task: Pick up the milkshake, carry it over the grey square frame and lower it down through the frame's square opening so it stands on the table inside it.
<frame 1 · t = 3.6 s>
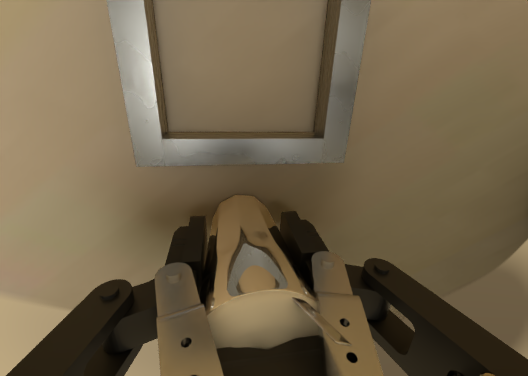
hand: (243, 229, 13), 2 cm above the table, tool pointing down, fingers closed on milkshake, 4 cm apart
milkshake: (243, 211, 15), on the table, touching gripper
grey square frame: (244, 49, 12), on the table
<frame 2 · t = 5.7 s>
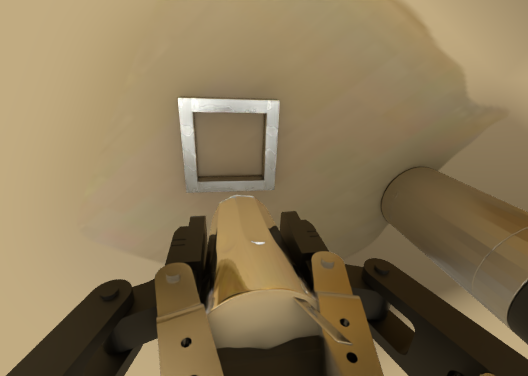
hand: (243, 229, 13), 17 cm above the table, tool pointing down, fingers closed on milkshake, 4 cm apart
milkshake: (243, 210, 15), point 15 cm above the table, touching gripper
grey square frame: (230, 145, 29), on the table
when the fingers open (3 cm above the table, at t = 8.3 s): milkshake stays where it is, on the table.
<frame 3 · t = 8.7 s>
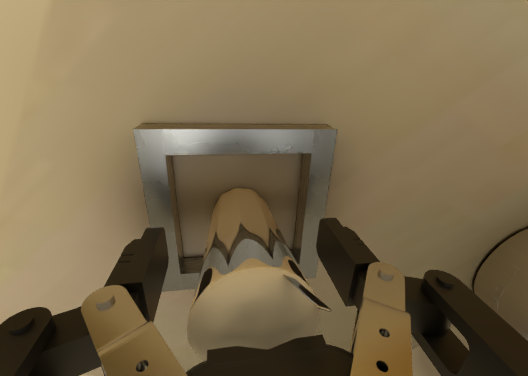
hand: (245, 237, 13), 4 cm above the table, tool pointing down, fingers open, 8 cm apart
milkshake: (242, 203, 16), on the table
grey square frame: (239, 205, 16), on the table
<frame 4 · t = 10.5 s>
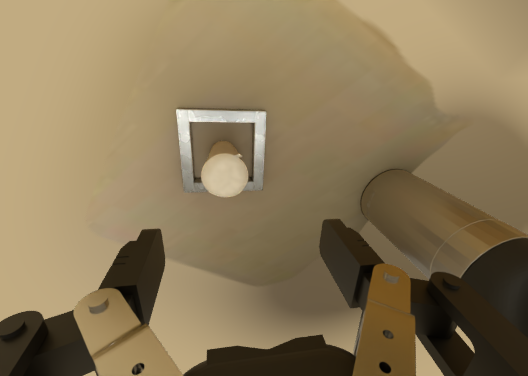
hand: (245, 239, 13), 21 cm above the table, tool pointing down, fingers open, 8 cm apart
milkshake: (224, 149, 32), on the table
grey square frame: (223, 150, 32), on the table
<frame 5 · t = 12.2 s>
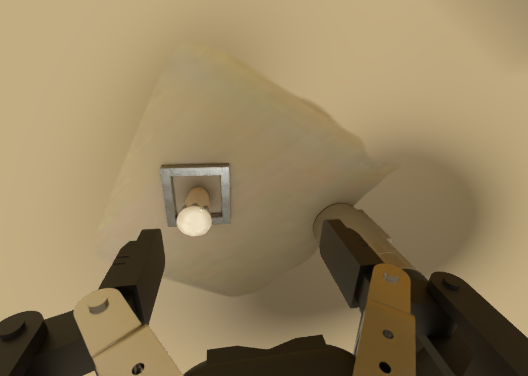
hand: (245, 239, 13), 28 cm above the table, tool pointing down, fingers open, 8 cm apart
milkshake: (199, 193, 42), on the table
grey square frame: (198, 193, 41), on the table
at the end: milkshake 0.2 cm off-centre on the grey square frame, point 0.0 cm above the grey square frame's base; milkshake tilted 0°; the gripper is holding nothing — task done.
